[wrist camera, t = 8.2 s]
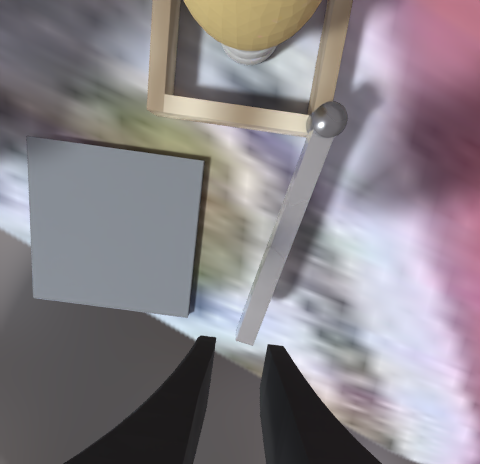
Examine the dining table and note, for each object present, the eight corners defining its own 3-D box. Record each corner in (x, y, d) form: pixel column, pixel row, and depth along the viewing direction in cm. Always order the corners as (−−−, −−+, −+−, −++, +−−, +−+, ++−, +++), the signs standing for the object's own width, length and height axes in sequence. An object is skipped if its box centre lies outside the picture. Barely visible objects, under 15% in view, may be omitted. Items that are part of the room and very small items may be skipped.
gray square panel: (38, 294, 21) (33, 297, 21) (32, 136, 19) (26, 135, 18) (188, 314, 22) (187, 317, 21) (204, 161, 19) (203, 160, 18)
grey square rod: (256, 333, 19) (257, 350, 18) (232, 326, 19) (231, 342, 18) (340, 114, 16) (352, 108, 14) (312, 104, 16) (321, 96, 14)
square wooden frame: (157, 115, 18) (146, 109, 16) (169, -85, 16) (159, -120, 14) (317, 138, 19) (326, 135, 17) (354, -56, 16) (369, -86, 14)
